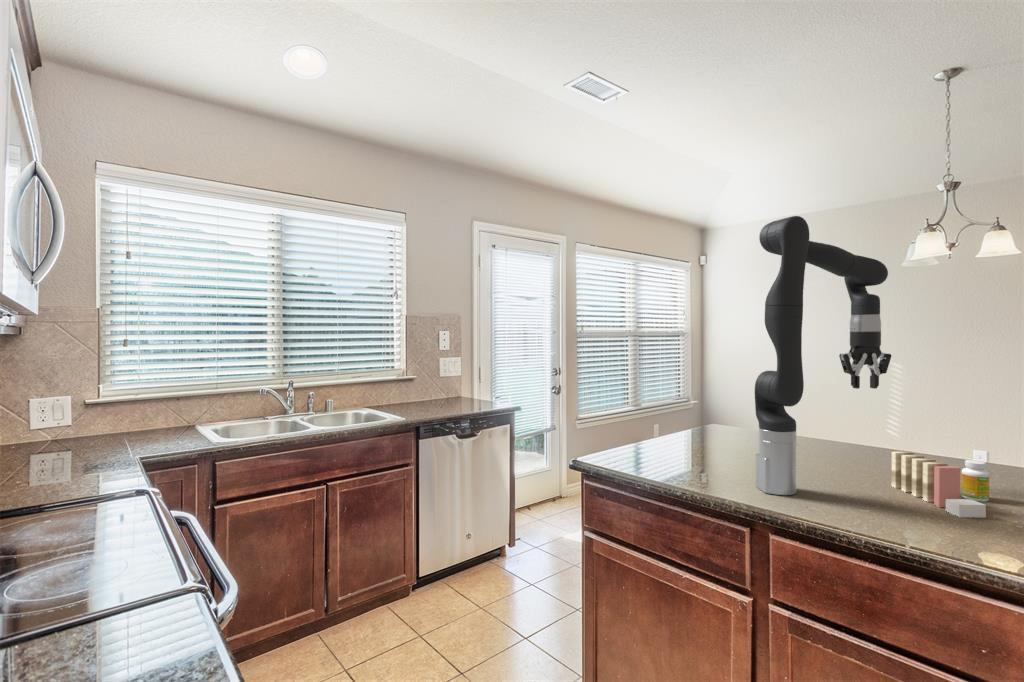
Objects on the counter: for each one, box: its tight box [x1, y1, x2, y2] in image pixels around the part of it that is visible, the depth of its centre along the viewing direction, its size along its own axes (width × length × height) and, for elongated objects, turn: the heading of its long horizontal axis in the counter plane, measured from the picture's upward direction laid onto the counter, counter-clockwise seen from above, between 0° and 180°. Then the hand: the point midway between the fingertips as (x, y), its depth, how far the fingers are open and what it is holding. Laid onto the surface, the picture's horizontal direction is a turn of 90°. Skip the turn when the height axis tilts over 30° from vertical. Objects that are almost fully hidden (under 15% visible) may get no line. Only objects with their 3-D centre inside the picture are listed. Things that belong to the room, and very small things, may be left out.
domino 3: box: [911, 458, 937, 498], centre depth 134 cm, size 5×2×10 cm, turn 88°
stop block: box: [945, 498, 987, 519], centre depth 121 cm, size 6×4×3 cm, turn 88°
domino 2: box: [900, 454, 926, 493], centre depth 138 cm, size 5×2×10 cm, turn 87°
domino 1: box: [890, 451, 915, 489], centre depth 141 cm, size 5×2×10 cm, turn 87°
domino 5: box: [933, 465, 961, 508], centre depth 126 cm, size 5×2×10 cm, turn 88°
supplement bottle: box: [960, 459, 990, 503], centre depth 132 cm, size 5×5×10 cm
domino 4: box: [922, 461, 949, 503], centre depth 130 cm, size 5×2×10 cm, turn 87°
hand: (864, 387), depth 148 cm, fingers open, 4 cm apart
